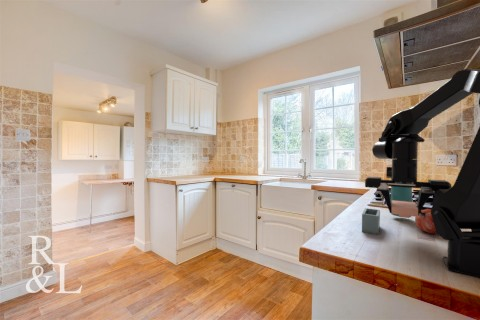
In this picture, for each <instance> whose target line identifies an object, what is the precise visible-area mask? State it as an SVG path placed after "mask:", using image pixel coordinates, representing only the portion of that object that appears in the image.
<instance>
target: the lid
mask: <svg viewBox="0 0 480 320" xmlns="http://www.w3.org/2000/svg"><path fill="white" fill-rule="evenodd" d="M390 214H391V215H392V214H399V216H398V217H399V218H406V219H410V217H409V216H411V217H418V208H417V203H416V202H415V201H412V202H405V201H395V200H392V212H391V213H390Z"/></svg>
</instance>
